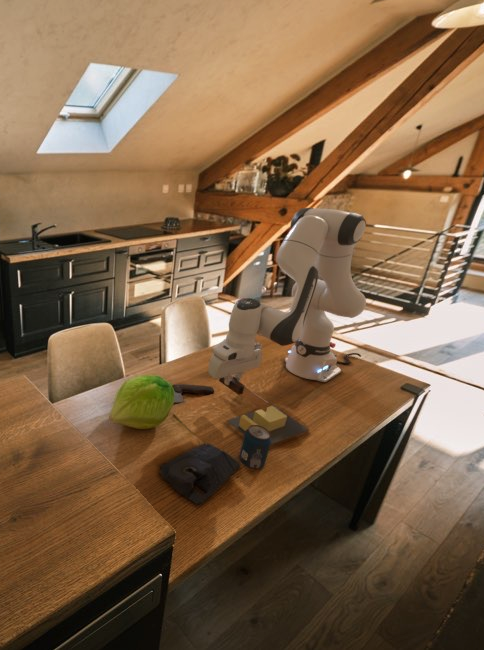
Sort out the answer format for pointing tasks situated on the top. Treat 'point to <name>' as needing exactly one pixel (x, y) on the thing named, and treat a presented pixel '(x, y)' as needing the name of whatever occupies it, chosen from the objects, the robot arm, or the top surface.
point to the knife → (246, 393)
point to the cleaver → (190, 390)
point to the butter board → (275, 433)
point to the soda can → (255, 447)
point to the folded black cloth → (199, 471)
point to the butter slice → (245, 422)
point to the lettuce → (142, 402)
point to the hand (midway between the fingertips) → (231, 382)
